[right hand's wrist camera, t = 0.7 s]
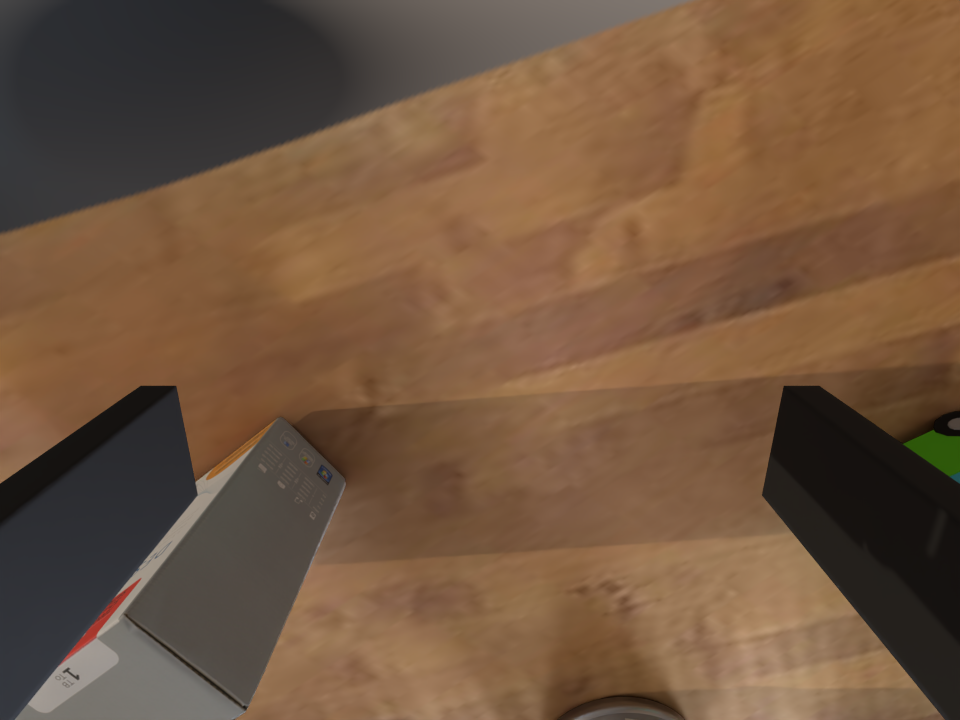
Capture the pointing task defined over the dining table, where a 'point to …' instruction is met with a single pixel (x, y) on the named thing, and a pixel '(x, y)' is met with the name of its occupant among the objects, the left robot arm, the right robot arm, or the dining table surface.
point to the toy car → (941, 445)
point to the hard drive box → (205, 594)
